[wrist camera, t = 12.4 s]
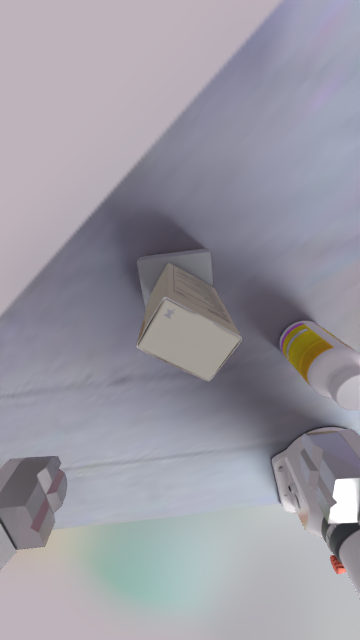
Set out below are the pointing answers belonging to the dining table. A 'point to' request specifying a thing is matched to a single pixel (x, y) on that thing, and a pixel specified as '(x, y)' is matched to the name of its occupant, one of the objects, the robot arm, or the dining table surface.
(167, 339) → the skincare box
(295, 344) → the supplement bottle
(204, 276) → the tower top
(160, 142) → the dining table surface
